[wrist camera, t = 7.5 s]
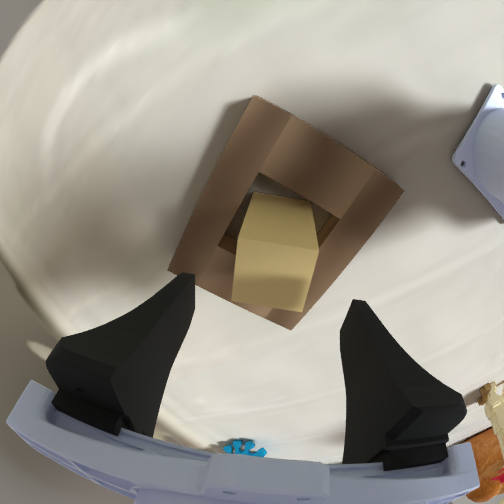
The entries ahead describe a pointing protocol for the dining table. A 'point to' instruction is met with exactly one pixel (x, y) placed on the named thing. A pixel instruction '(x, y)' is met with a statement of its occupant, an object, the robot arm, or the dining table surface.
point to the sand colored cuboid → (275, 253)
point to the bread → (487, 465)
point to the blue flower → (248, 446)
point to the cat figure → (494, 417)
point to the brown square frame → (296, 179)
